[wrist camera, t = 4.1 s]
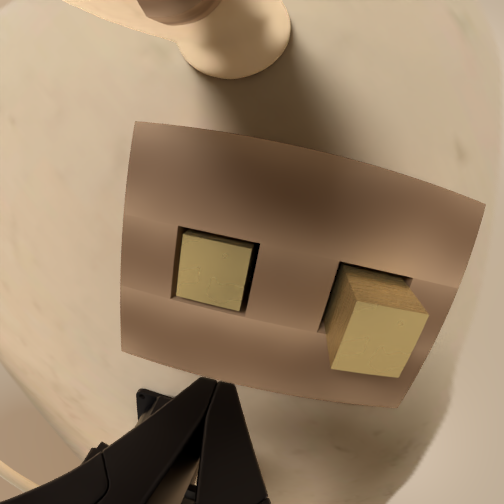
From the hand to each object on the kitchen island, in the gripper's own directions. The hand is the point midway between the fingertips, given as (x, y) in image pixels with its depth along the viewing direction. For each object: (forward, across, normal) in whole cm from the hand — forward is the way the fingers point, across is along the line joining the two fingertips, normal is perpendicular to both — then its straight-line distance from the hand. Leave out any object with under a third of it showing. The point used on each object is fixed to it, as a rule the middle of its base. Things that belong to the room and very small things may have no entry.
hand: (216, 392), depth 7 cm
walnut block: (+11, -2, 0) cm, 11 cm away
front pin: (+8, -5, 0) cm, 10 cm away
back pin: (+11, +2, 0) cm, 11 cm away
